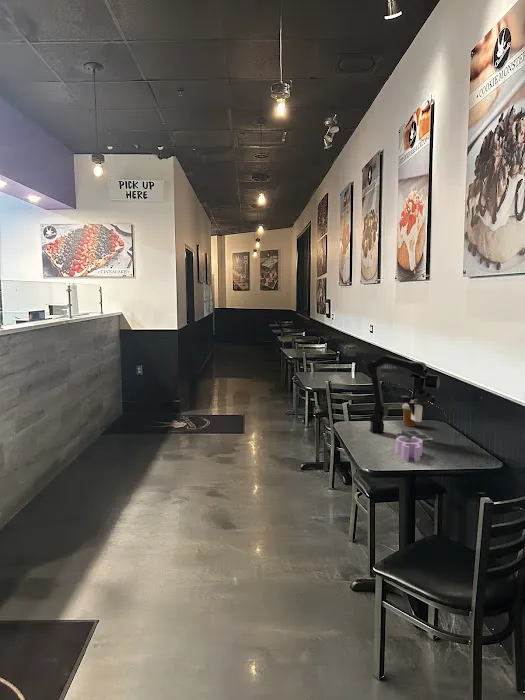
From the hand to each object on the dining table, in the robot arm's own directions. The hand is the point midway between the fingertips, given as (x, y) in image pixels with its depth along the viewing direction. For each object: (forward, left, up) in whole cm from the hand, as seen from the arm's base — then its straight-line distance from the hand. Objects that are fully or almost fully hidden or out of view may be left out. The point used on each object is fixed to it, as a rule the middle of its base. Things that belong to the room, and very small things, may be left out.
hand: (416, 415), depth 287 cm
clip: (-17, -27, -13) cm, 35 cm away
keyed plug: (0, 0, -3) cm, 3 cm away
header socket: (-1, +1, -13) cm, 13 cm away
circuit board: (-1, +1, -13) cm, 13 cm away
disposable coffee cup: (+10, +27, -13) cm, 32 cm away
